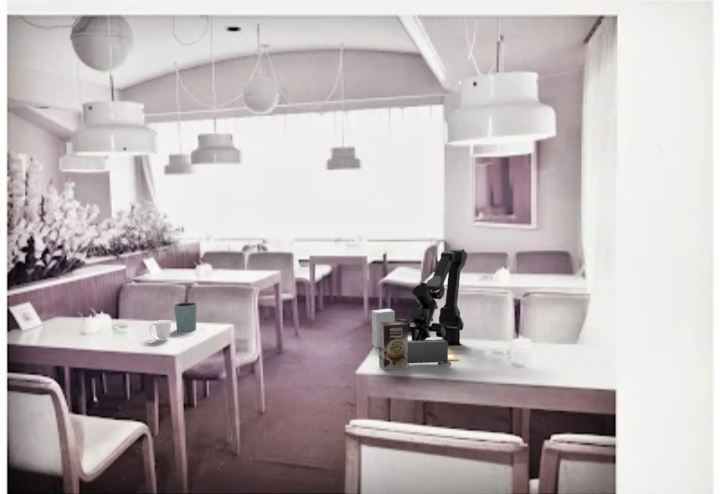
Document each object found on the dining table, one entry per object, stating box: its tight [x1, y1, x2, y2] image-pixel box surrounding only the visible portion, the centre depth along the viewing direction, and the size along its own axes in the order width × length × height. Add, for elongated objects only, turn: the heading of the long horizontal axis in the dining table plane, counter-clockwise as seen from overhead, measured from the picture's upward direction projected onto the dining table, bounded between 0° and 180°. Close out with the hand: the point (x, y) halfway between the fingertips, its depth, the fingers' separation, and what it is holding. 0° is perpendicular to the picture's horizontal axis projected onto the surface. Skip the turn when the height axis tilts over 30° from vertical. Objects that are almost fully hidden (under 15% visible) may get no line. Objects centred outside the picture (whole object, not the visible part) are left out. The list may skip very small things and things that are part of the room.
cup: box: [148, 319, 172, 342], centre depth 272 cm, size 7×10×8 cm
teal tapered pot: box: [173, 302, 198, 333], centre depth 291 cm, size 10×10×12 cm
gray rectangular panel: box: [407, 338, 449, 364], centre depth 230 cm, size 16×2×8 cm, turn 95°
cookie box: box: [378, 320, 409, 371], centre depth 228 cm, size 9×6×16 cm
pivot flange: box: [437, 361, 452, 367], centre depth 231 cm, size 5×5×1 cm
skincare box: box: [371, 308, 396, 349], centre depth 258 cm, size 8×6×15 cm
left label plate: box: [448, 353, 460, 362], centre depth 240 cm, size 6×8×1 cm
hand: (413, 347), depth 231 cm, fingers closed
